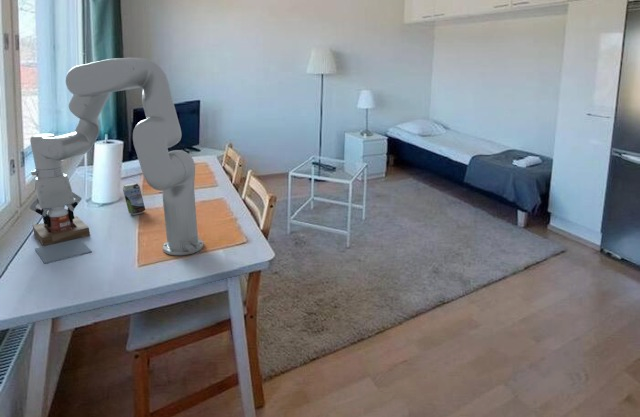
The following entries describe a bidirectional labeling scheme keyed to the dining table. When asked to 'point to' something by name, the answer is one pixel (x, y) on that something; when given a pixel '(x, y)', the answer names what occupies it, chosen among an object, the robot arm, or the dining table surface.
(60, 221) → the pill bottle
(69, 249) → the mat
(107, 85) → the robot arm
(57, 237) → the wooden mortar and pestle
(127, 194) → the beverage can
